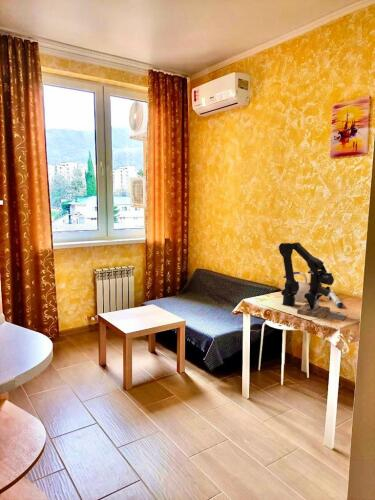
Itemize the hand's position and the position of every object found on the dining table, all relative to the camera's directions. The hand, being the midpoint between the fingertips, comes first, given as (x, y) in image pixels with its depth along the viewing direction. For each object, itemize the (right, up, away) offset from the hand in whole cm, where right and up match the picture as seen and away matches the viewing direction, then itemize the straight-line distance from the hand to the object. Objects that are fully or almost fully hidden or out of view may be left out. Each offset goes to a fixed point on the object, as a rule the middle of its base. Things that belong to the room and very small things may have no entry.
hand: (313, 307), depth 211 cm
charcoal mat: (+10, -4, -7) cm, 13 cm away
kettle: (+1, +1, +33) cm, 34 cm away
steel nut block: (0, -3, 0) cm, 3 cm away
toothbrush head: (+21, -1, +23) cm, 31 cm away
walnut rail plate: (0, -3, 0) cm, 3 cm away
